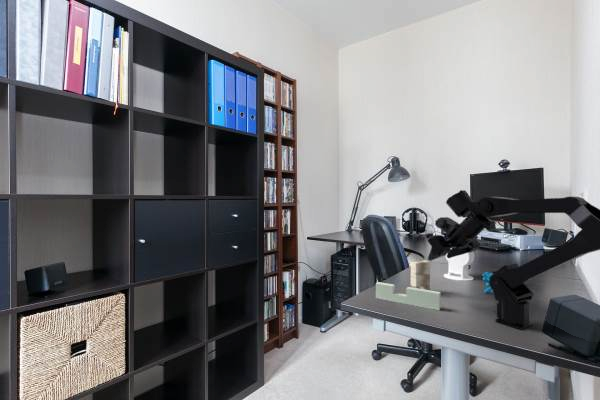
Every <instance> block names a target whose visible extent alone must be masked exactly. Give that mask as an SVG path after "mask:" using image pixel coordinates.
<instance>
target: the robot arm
mask: <svg viewBox="0 0 600 400" xmlns="http://www.w3.org/2000/svg"><path fill="white" fill-rule="evenodd" d="M445 203H446V205H447V206H448V207H449V208H450V209H451V211H452V212H453V213H454V214H455V216H456V217H457V218H463V220H462V221H461V222H460V223H458V222H457V221H455V220H453V219H452V218H450V217H448V216H446V217H442V216H441V217H439V218H437V219H436V220H435V222H434V225H435V227H436V228H438V229H440V230H442V231H443V232H445V233H444V235H445V236H446V237H447V239H448V240H446V239H445V237H444V236H443V235H442V234H435V235H429V237H428V239H427V242H428V244H430V246H431V248H430V252H429V254H428V256H427V259H428V260H427V261H430V262H432V261H434V260H436V259H439V258H442V257H445V255H446V254H447V253H448V254H447V258H452V257H455V256H459V255H462V254H466V253H469V252H472V251H474V252H475V251H477V250H478V249H480V244H481V243H480V242H479V241H478V239H479V235H480V233H482V232H483V231H484V230H486V231H495V230H496V229H497V227H496V221H495V220H491V219H490V218H497V217H505V216H511V215H515V214H539V213H540V214H565V215H567V216H568V217H569V218H570V219H571V220H572V222H573V223H574V224H575V225H576V226H577V227H578V228H579V229H581V230H579V231H578V232H577V233H576V235H574V236H573V237H572V238H571V239H570V240H569V241H567V242H565V243H563V244H561V245H559V246H557V247H555V248H554V249H551V250H550V251H547V252H545V253H543V254H541V255H539V256H538V257H535V258H534V259H532V260H529V261H528V262H526V263H523V264H521V265H518V263H517V262H516V263H515V262H514V263H510V264H509V263H508V264H505V265H503V266H501V267H500V268H499V269H497V270H493V271H491V273H492V275H491V276H490V278H489V284H490V287H491V289H492V290H493V292H492V293H493V295H494V298H495V300H496V301H498V302H497V303H496V318H495V319H494V320H495V322H497V323H499V324H503V325H505V326H509V327H512V328H516V329H518V330H524V329H525V328H527V327H530V326H532V325H533V322H532V321H530V302H529V301H532V299H533V297H534V295H535V294H534V292H533V291H532V290H531V289H530V287H528V285H529V284H530V283H531V282H532V281H533V280H534V279H535V278H537V277H540V276H542V275H544V274H546V273H548V272H550V271H552V270H555V269H556V268H560V267H561V266H563V265H565V264H568V263H570V262H572V261H574V260H577V259H578V258H581V257H582V256H583V257H584V256H585V255H588V254H590V253H594V252H597V251H600V208H598V207H596V206H594V205H592V204H591V203H590V202H588V201H587V200H586V199H585V198H583V197H581V196H565V197H554V198H553V197H550V198H547V197H546V198H528V199H527V198H526V199H522V198H521V199H520V198H519V199H518V198H517V199H516V198H511V197H502V196H483V197H481V198H480V199H479V201H478V200H477V201H475V200H474V199H473V198H472V197H471V195H469V193H468V191H466V190H463V189H460V190H459V191H458V192H456V193H455V194H452V195H451V196H449V197H448V198H447V199H446V202H445ZM470 247H471V248H470ZM451 248H452V249H451Z"/></svg>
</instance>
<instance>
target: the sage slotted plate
mask: <svg viewBox="0 0 600 400" xmlns="http://www.w3.org/2000/svg"><path fill="white" fill-rule="evenodd" d="M395 287H396V286H395V284H392V283H386V282H379V281H377V282H376V283H375V299H379V300H384V301H389V302H394V303H398V304H404V305H409V306H415V307H421V308H425V309H430V310H431V309H432V310H436V311H440V310H441V301H442V300H441V298H442V297H441V296H442V295H441V291H436V290H431V289H430V290H424V289H422V288H419V289H418V288H412V287H411V286H408V287H406V289H405V293H400V292H396V291H395V290H396V289H395Z"/></svg>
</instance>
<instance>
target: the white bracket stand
mask: <svg viewBox="0 0 600 400" xmlns="http://www.w3.org/2000/svg"><path fill="white" fill-rule="evenodd" d="M470 248H471V247H470ZM451 249H452V248H451ZM447 254H448V253H447ZM447 254H446V255H445V256H444V257H445V260H446V261H447V262H448V271H447V273H444V274H443V277H444V278H446V279H449V280H452V281H458V282H459V281H461V282H471V281H473V280H474V277H473V276H471V275H469V270H471V264H472V263H473V262H474V261H475V259H476V255H475V254H476V253H475V251H472V252H469V253H466V254H462V255H459V256H455V257H452V258H447Z"/></svg>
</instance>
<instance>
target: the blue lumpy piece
mask: <svg viewBox="0 0 600 400" xmlns="http://www.w3.org/2000/svg"><path fill="white" fill-rule="evenodd" d="M492 274H493V273H492V272H491V273H490V271H489V272H488V271H486V272H484V273H483V274H482V280H483V281H484V282H486V283H485V285H486V287H487V288H486V289H484V290H483V293H484V294H488V293H489V292H492V293H493V290H492V289H491V287H490V284H489V278H490V276H491V275H492Z"/></svg>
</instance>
